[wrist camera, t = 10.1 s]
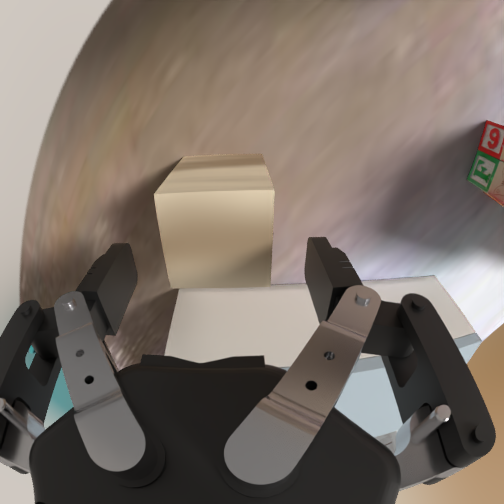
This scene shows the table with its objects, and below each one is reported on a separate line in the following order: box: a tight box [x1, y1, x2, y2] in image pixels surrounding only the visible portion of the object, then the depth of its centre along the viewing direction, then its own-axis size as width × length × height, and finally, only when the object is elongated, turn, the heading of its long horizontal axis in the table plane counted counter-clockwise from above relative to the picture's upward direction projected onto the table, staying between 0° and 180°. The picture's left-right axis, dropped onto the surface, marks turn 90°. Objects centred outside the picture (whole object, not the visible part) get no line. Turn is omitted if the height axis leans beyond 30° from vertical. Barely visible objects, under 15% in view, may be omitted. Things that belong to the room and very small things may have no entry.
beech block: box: [154, 154, 275, 288], centre depth 15 cm, size 5×5×7 cm
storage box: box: [164, 275, 475, 368], centre depth 23 cm, size 14×24×8 cm, turn 90°
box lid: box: [282, 333, 482, 437], centre depth 19 cm, size 14×24×1 cm, turn 90°
